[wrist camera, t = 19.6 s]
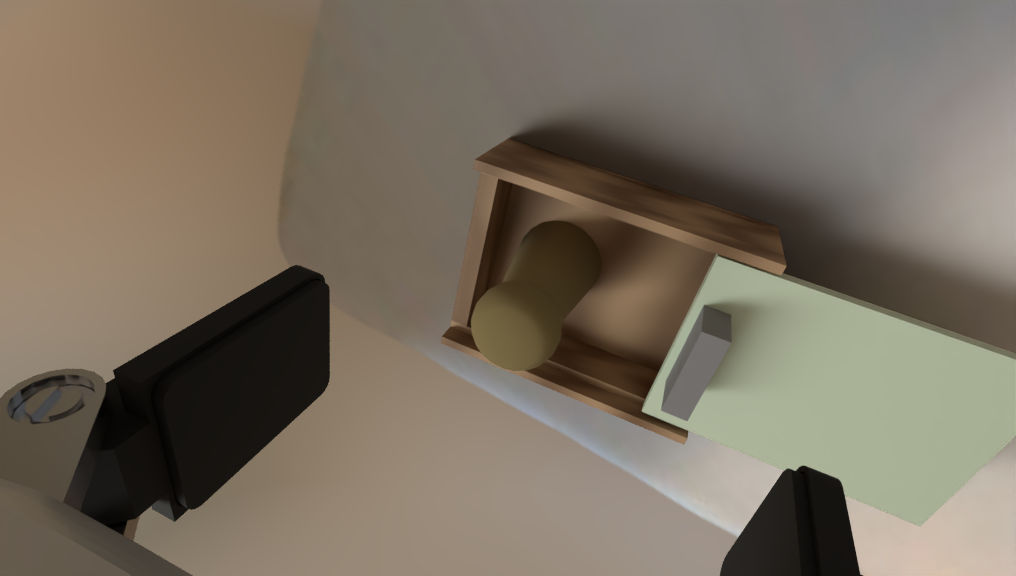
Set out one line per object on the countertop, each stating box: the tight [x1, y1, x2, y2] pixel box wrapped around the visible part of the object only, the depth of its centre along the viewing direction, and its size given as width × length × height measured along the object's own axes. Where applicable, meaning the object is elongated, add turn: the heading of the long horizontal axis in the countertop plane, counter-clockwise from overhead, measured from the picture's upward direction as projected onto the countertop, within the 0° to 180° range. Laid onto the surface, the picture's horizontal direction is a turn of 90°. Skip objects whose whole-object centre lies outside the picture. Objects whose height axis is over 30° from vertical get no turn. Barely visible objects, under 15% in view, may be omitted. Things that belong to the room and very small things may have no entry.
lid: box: [642, 253, 1016, 526], centre depth 30 cm, size 18×12×4 cm
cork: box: [471, 220, 601, 371], centre depth 33 cm, size 6×6×11 cm
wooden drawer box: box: [441, 138, 787, 444], centre depth 36 cm, size 18×14×6 cm
